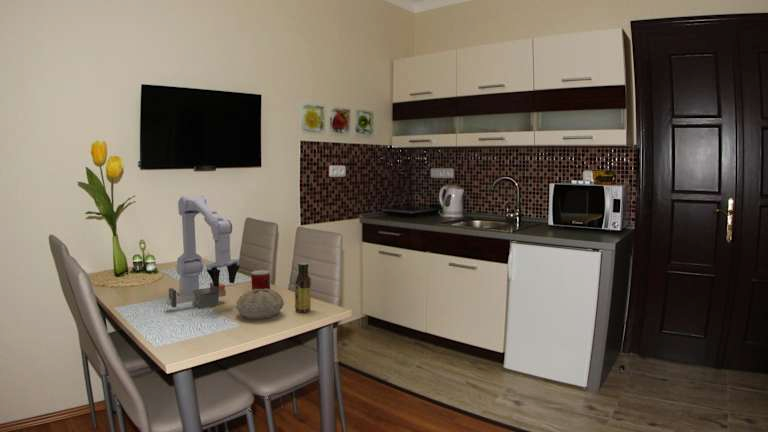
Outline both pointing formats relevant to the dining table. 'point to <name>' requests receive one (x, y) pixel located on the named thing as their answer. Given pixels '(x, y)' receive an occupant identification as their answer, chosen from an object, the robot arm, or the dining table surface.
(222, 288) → the spacer
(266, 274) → the canned food
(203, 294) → the bearing block
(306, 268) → the sauce bottle
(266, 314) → the decorative shell
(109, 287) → the dining table surface
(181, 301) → the shaft
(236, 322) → the dining table surface
